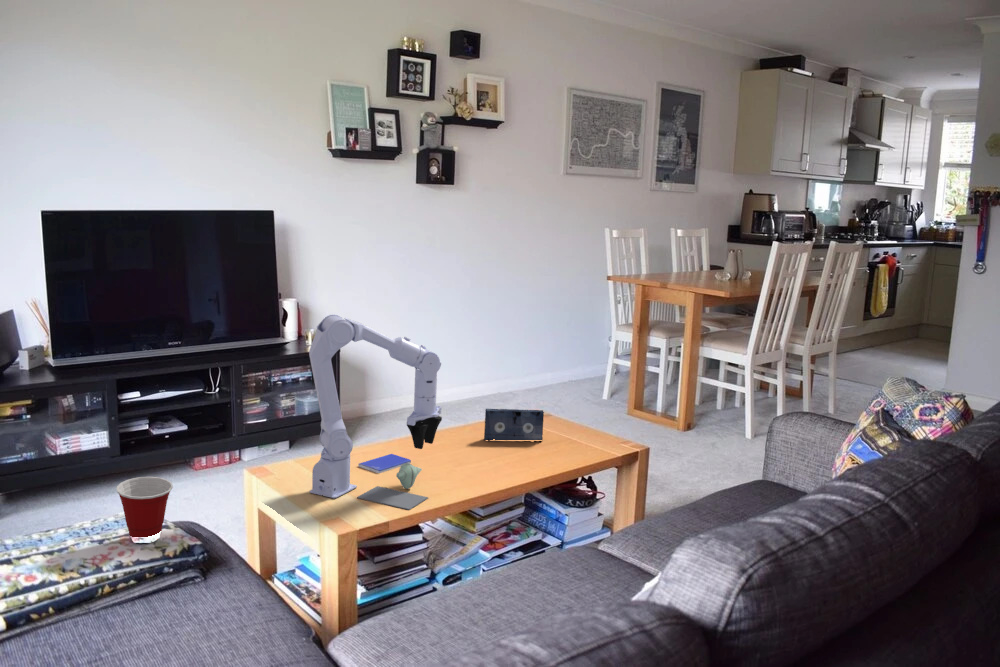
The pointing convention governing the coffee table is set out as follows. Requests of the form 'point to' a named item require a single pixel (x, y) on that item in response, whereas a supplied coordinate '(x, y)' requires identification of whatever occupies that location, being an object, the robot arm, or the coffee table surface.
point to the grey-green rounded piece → (408, 475)
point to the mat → (393, 497)
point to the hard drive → (384, 463)
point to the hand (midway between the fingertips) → (423, 445)
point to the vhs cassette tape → (513, 424)
